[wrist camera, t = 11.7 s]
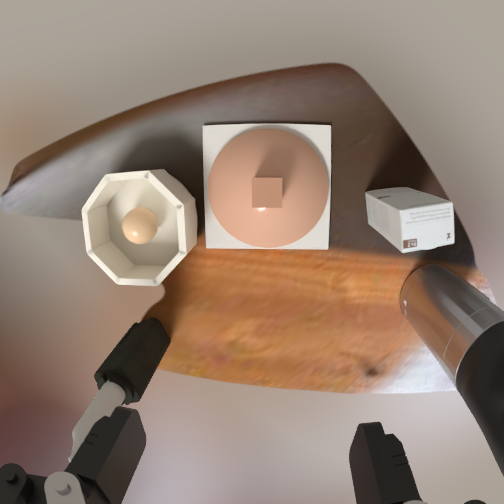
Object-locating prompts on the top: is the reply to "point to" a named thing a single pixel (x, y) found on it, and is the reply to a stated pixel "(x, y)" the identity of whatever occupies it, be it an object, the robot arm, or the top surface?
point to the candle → (124, 374)
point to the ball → (140, 225)
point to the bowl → (167, 236)
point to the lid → (268, 188)
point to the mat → (223, 134)
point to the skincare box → (411, 218)
